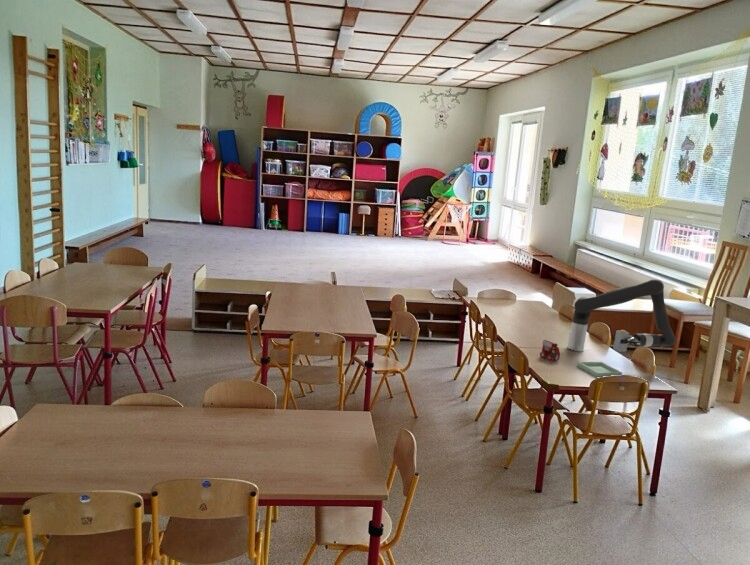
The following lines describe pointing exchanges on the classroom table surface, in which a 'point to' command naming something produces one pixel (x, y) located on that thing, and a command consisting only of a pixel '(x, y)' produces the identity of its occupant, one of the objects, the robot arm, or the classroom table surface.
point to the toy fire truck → (550, 351)
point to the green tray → (598, 369)
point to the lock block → (619, 336)
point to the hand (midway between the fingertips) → (617, 340)
